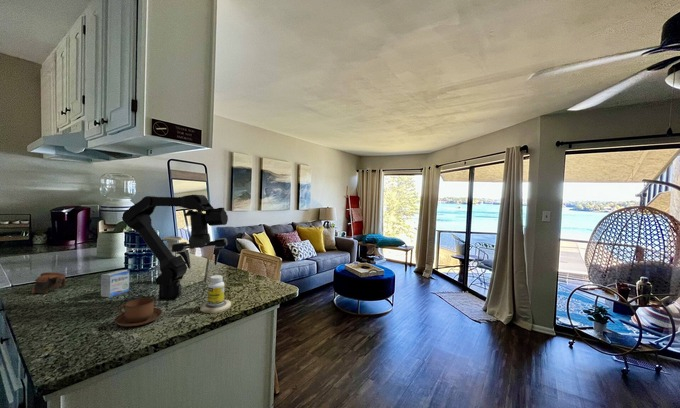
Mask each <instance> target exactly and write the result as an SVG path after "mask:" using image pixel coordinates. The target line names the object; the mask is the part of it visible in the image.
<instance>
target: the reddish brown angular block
mask: <svg viewBox="0 0 680 408" xmlns="http://www.w3.org/2000/svg"><path fill="white" fill-rule="evenodd" d="M34 282H35V283H34V286H33V287H32V288H31V294H32V295H33V294H48V293H49V290H52V291H56V290H58V289H59V287H60V286H61V287H62V288H63V287H65V286H66V275H65V274H64V273H62V272H61V273H59V272H42V273H40V276H38V277H37V278H36V279H35V280H34Z"/></svg>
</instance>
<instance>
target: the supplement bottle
mask: <svg viewBox="0 0 680 408" xmlns="http://www.w3.org/2000/svg"><path fill="white" fill-rule="evenodd" d="M224 299H225V282H224V281H223V275H221V274H220V275H219V274H217V275H212V276H210V282H209V283H208V285H207V301H208V305H210V306H218V305H221V304H223V303H224Z"/></svg>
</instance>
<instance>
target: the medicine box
mask: <svg viewBox="0 0 680 408" xmlns="http://www.w3.org/2000/svg"><path fill="white" fill-rule="evenodd" d="M129 291H130V270H126V269H119V270H116V271H115V270H114V271H111V272H108V273H107V272H106V273H103V274H101V275H100V297H103V298H113V297H116V296H119V295H122V294H125V293H129Z"/></svg>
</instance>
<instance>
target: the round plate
mask: <svg viewBox="0 0 680 408" xmlns="http://www.w3.org/2000/svg"><path fill="white" fill-rule="evenodd" d="M231 306H232V302H231V301H230V300H229V299H226V298H224V303H223V304H221V305H218V306H210V305H208V300H207V301H205V302H203V303H201V304H200V307H199V308H200V312H201V313H205V314H217V313H223V312H225V311H228V310H230V309H231Z"/></svg>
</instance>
